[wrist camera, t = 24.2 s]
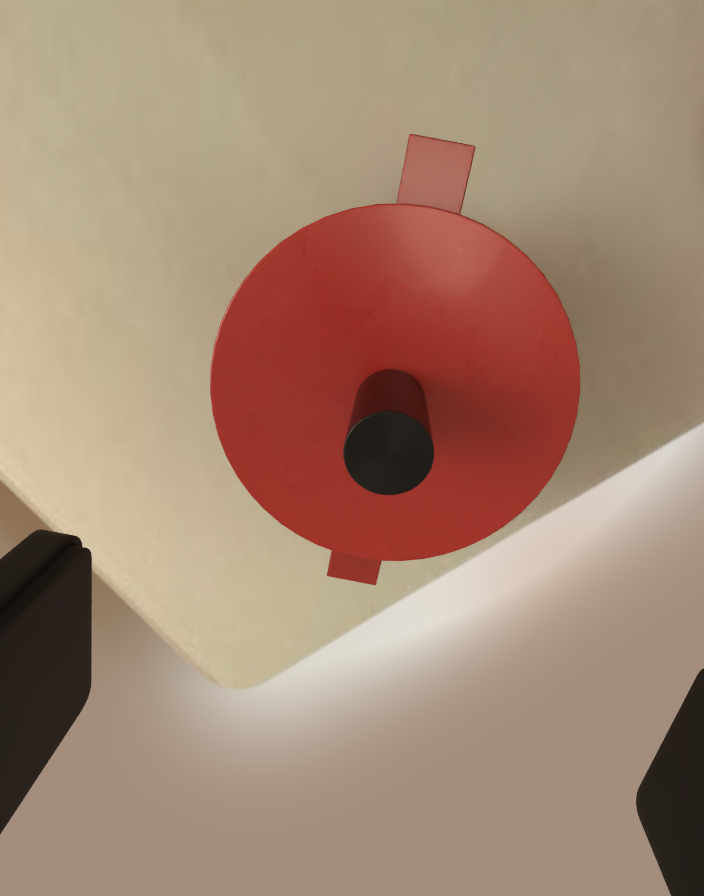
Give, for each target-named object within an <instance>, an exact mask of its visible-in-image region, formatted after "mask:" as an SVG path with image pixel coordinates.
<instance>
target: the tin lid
mask: <svg viewBox="0 0 704 896" xmlns="http://www.w3.org/2000/svg"><path fill="white" fill-rule="evenodd" d="M210 393H211V402H212V410H213V416H214V420H215V424H216V428H217V432H218V436H219V439H220V441H221V444H222V446H223V449H224V451H225V454H226V457H227V458H228V460H229V462H230V464H231V466H232V468H233V469H234V471H235V473H236V475H237V477H238V478H239V479H240V481H241V482H242V483H243V485H244V486H245V488H246V489H247V490H248V492H249V493H250V494H251V495H252V497H253V498H254V499H255V500H256V501H257V502H258V503H259V504H260V505H261V506H262V507H263V508H264V509H265V510H266V511H267V512H268V513H269V514H270V515H272V516H273V517H274V518H275V519H276V520H277V521H279V522H280V523H281V524H282V525H284V526H285V527H287V528H288V529H290V530H291V531H293V532H294V533H296V534H297V535H299V536H301V537H303V538H305V539H307V540H309V541H311V542H313V543H315V544H317V545H319V546H322V547H324V548H327V549H330V550H332V551H335V552H338V553H342V554H346V555H350V556H354V557H358V558H365V559H372V560H380V561H406V560H417V559H425V558H430V557H434V556H439V555H444V554H447V553H450V552H453V551H456V550H459V549H462V548H465V547H467V546H469V545H471V544H474V543H476V542H478V541H480V540H482V539H484V538H486V537H488V536H489V535H491V534H492V533H494V532H496V531H497V530H499V529H501V528H502V527H504V526H505V525H506V524H507V523H509V522H510V521H511V520H513V519H514V518H515V517H516V516H518V515H519V514H520V513H521V512H522V511H523V510H524V509H525V508H526V507H527V506H528V505H529V504H530V503H531V502H532V501H533V500H534V499H535V498H536V497H537V496H538V494H539V493H540V492H541V490H542V489H543V488H544V487H545V485H546V484H547V483H548V481H549V480H550V479H551V477H552V475H553V473H554V472H555V470H556V468H557V467H558V465H559V463H560V461H561V460H562V458H563V455H564V453H565V450H566V448H567V446H568V443H569V441H570V438H571V435H572V432H573V428H574V424H575V420H576V417H577V411H578V403H579V395H580V365H579V359H578V352H577V346H576V341H575V338H574V334H573V331H572V328H571V325H570V321H569V318H568V316H567V314H566V312H565V310H564V308H563V306H562V303H561V301H560V299H559V297H558V295H557V294H556V292H555V291H554V289H553V288H552V286H551V285H550V283H549V282H548V280H547V279H546V277H545V276H544V274H543V273H542V272H541V271H540V270H539V269H538V268H537V266H536V265H535V264H534V263H533V262H532V261H531V260H530V259H529V258H528V256H527V255H526V254H524V253H523V252H522V251H521V250H520V249H518V248H517V247H516V246H515V245H514V244H512V243H511V242H510V241H509V240H508V239H506V238H505V237H503V236H502V235H500V234H498V233H497V232H495V231H493V230H492V229H490V228H489V227H487V226H485V225H484V224H482V223H479V222H477V221H475V220H472V219H470V218H467V217H465V216H463V215H460V214H458V213H454V212H451V211H447V210H443V209H439V208H435V207H432V206H423V205H414V204H406V203H400V204H375V205H369V206H363V207H358V208H352V209H348V210H345V211H342V212H339V213H336V214H333V215H329V216H326V217H324V218H322V219H320V220H318V221H316V222H314V223H311V224H309V225H307V226H305V227H303V228H301V229H300V230H298V231H297V232H295V233H294V234H292V235H291V236H289V237H288V238H286V239H285V240H283V241H282V242H280V243H279V244H278V245H277V246H276V247H275V248H273V249H272V250H271V251H270V252H269V253H268V254H267V255H266V256H265V257H263V258H262V259H261V260H260V261H259V262H258V264H257V265H256V266H255V267H254V268H253V270H252V271H251V272H250V273H249V274H248V275H247V277H246V278H245V279H244V280H243V282H242V284H241V285H240V287H239V288H238V290H237V292H236V293H235V295H234V296H233V298H232V300H231V301H230V304H229V306H228V308H227V310H226V312H225V315H224V317H223V319H222V321H221V324H220V327H219V331H218V334H217V338H216V341H215V344H214V350H213V357H212V363H211V380H210Z"/></svg>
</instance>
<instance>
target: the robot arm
mask: <svg viewBox="0 0 704 896" xmlns="http://www.w3.org/2000/svg"><path fill="white" fill-rule="evenodd" d="M91 572H92V557H91V552H90V550H89V549H88V548H83V547H82V542H81V540H80V538H78V537H77V536H73V535H68V534H63V533H57V532H52V531H47V530H36V531H35V532H33V533H31V534H30V535H29V536H28V537H27V538H25V539H24V540H23V541H22V542H21V543H19V544H18V545H17V546H16V547H14V548H13V549H12V550H11V551H10V552H8V553H7V554H6V555H5V556H4V557H2V558H1V559H0V834H1V832H2V831H3V829H4V828H5V826H6V825H7V823H8V822H9V820H10V819H11V817H12V816H13V814H14V813H15V811H16V810H17V808H18V807H19V805H20V803H21V802H22V800H23V799H24V797H25V796H26V794H27V793H28V791H29V790H30V788H31V787H32V785H33V784H34V782H35V781H36V779H37V778H38V776H39V774H40V773H41V772H42V770H43V768H44V767H45V765H46V764H47V762H48V760H49V759H50V758H51V756H52V755H53V753H54V752H55V750H56V748H57V747H58V746H59V744H60V742H61V741H62V740H63V738H64V736H65V735H66V733H67V732H68V730H69V729H70V727H71V726H72V724H73V723H74V721H75V720H76V718H77V717H78V715H79V714H80V712H81V710H82V709H83V707H84V705H85V703H86V701H87V699H88V696H89V693H90V688H91V605H92V603H91V602H92V600H91V596H92V592H91V591H92V587H91V586H92V582H91V581H92V576H91V575H92V573H91ZM636 805H637V812H638V815H639V818H640V821H641V823H642V826H643V828H644V830H645V833H646V836H647V838H648V840H649V843H650V845H651V848H652V850H653V853H654V855H655V857H656V860H657V862H658V865H659V867H660V870H661V872H662V874H663V877H664V879H665V882H666V884H667V887H668V889H669V891H670V894H671V896H704V669H702V670H701V671H700V672H699V673H698V675H697V677H696V679H695V681H694V683H693V685H692V686H691V688H690V690H689V692H688V694H687V696H686V698H685V700H684V702H683V704H682V706H681V708H680V710H679V712H678V713H677V715H676V717H675V719H674V721H673V723H672V725H671V727H670V729H669V731H668V733H667V735H666V737H665V738H664V741H663V742H662V744H661V746H660V748H659V750H658V752H657V754H656V756H655V758H654V760H653V762H652V763H651V765H650V767H649V770H648V771H647V773H646V775H645V777H644V779H643V781H642V783H641V785H640V787H639V789H638V792H637V798H636Z"/></svg>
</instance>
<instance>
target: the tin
mask: <svg viewBox="0 0 704 896" xmlns="http://www.w3.org/2000/svg"><path fill="white" fill-rule="evenodd" d="M474 152H475V146H473V145H468V144H462V143H457V142H451V141H446V140H441V139H435V138H430V137H425V136H419V135H414V134H410V135H409V140H408V145H407V150H406V156H405V161H404V167H403V172H402V177H401V183H400V188H399V193H398V199H397V204H400V203H406V204H414V205H423V206H432V207H435V208H439V209H443V210H447V211H451V212H454V213H458V214H460V213H461V209H462V204H463V200H464V196H465V191H466V187H467V182H468V178H469V174H470V169H471V165H472V160H473V156H474ZM380 565H381V561H380V560H372V559H365V558H358V557H354V556H350V555H346V554H342V553H338V552H335V551H331V556H330V562H329V567H328V573H327V576H330V577H335V578H341V579H346V580H351V581H356V582H361V583H367V584H372V585H376V583H377V578H378V574H379V569H380Z"/></svg>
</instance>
